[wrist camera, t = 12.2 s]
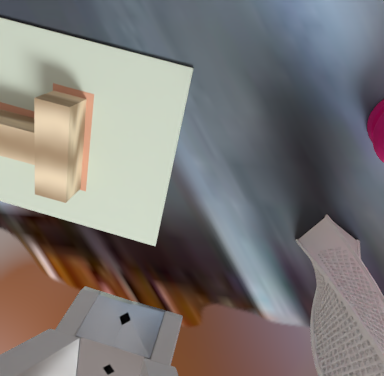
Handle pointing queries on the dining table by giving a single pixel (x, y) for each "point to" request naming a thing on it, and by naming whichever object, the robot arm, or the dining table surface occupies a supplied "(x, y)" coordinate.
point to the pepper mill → (377, 129)
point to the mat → (98, 126)
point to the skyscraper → (343, 305)
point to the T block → (48, 142)
